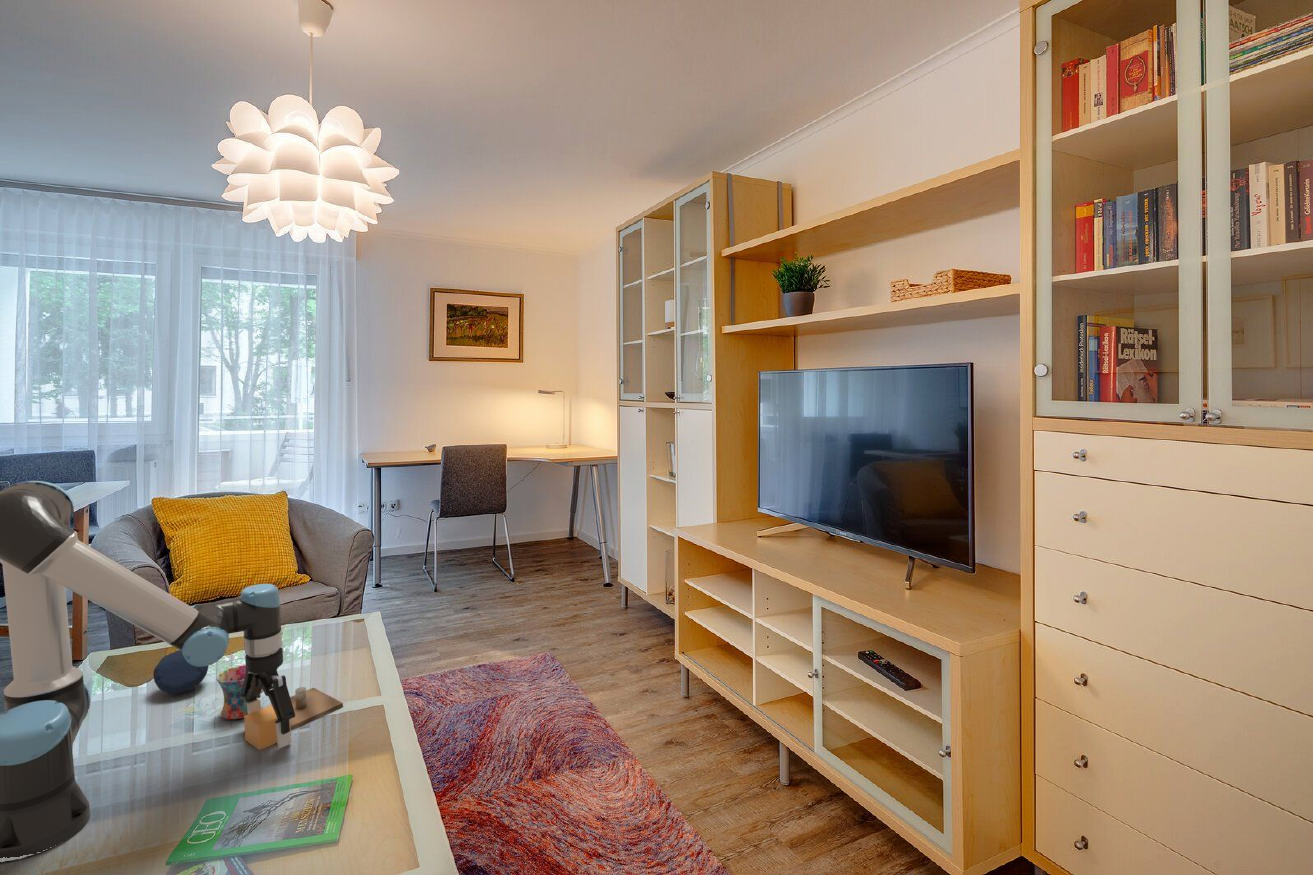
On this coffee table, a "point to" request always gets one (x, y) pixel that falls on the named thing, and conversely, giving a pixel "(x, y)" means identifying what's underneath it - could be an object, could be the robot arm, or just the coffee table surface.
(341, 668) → the coffee table surface
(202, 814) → the coffee table surface
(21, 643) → the robot arm
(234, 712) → the mug
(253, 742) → the tan cardboard box
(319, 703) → the post board
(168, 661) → the decorative stone
